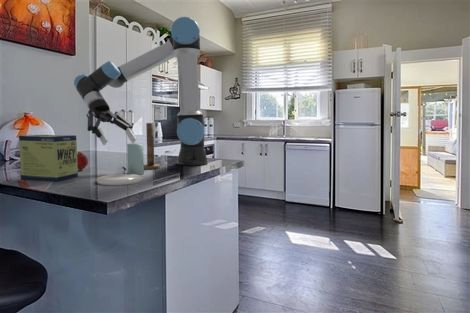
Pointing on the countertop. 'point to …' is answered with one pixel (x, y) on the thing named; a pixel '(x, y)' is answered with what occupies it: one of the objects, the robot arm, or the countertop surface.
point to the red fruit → (81, 161)
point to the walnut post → (150, 148)
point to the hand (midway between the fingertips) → (120, 141)
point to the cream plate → (119, 179)
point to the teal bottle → (135, 158)
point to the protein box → (48, 157)
